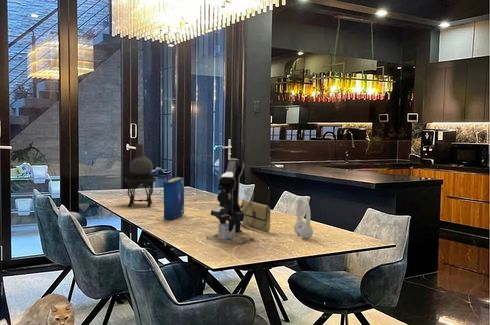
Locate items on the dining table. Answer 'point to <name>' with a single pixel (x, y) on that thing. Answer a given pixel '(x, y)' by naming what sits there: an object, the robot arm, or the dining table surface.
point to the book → (173, 198)
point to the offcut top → (241, 238)
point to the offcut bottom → (241, 242)
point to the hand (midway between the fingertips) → (226, 230)
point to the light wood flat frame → (213, 237)
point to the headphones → (301, 226)
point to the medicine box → (226, 232)
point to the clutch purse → (256, 215)
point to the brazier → (140, 175)
